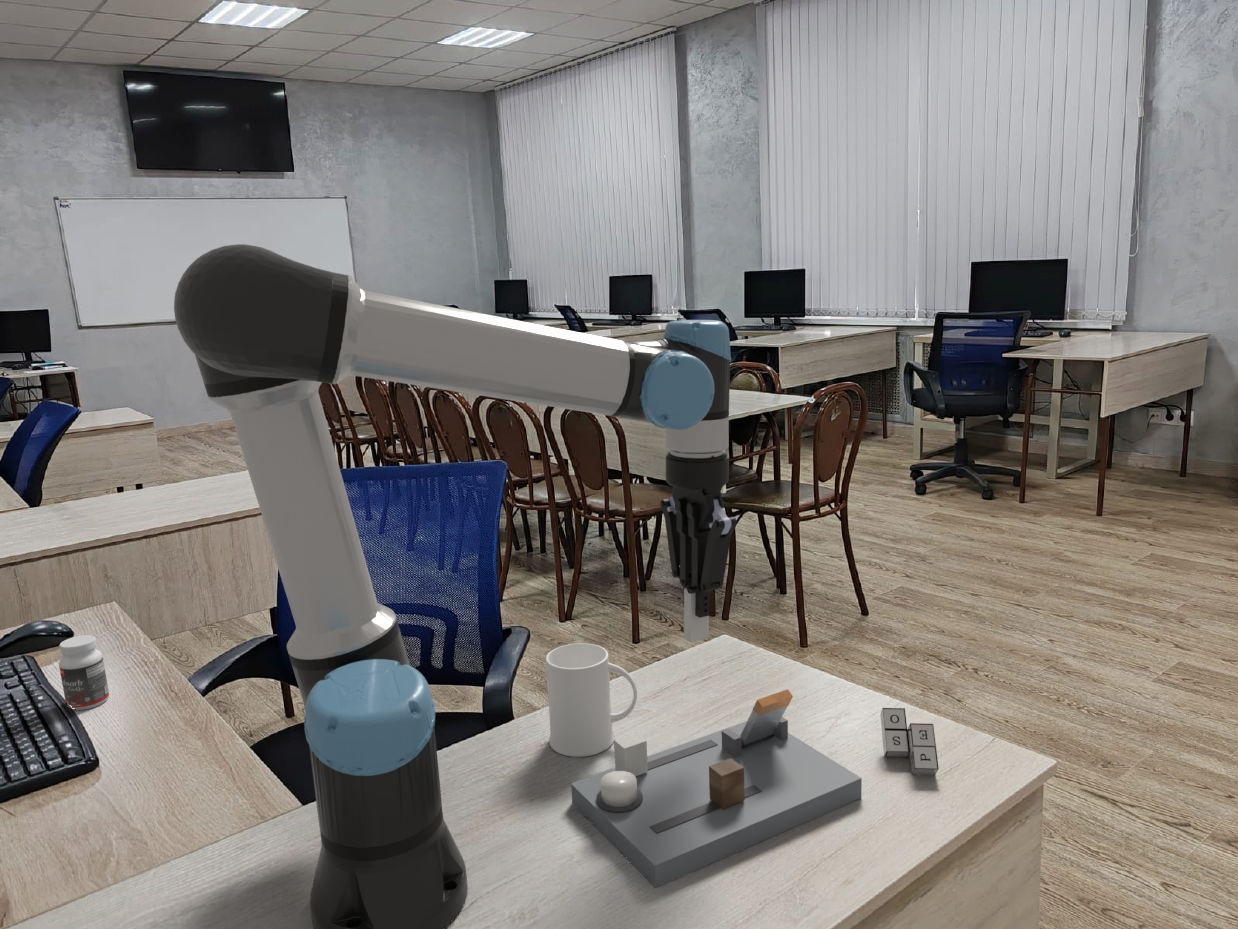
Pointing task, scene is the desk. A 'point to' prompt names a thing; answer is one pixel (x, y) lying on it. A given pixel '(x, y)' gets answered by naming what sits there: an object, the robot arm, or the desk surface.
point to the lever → (765, 718)
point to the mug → (582, 699)
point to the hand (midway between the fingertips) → (696, 638)
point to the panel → (696, 826)
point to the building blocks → (909, 741)
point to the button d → (619, 788)
